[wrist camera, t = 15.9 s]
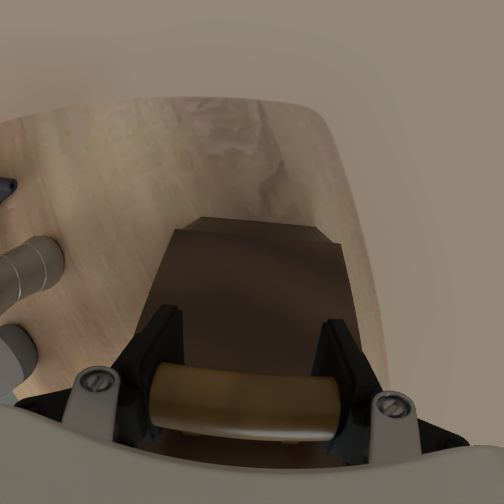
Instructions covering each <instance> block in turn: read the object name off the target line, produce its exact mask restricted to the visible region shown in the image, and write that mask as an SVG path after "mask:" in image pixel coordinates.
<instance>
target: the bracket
mask: <svg viewBox="0 0 504 504" xmlns="http://www.w3.org/2000/svg"><path fill="white" fill-rule="evenodd" d="M16 187H17V182H16V180H14V179H8V178H1V177H0V202H1V201H2V200H3V199H4V198H6V197H7V196H9V195H10V194H12V192H13V191H15V189H16Z"/></svg>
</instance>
